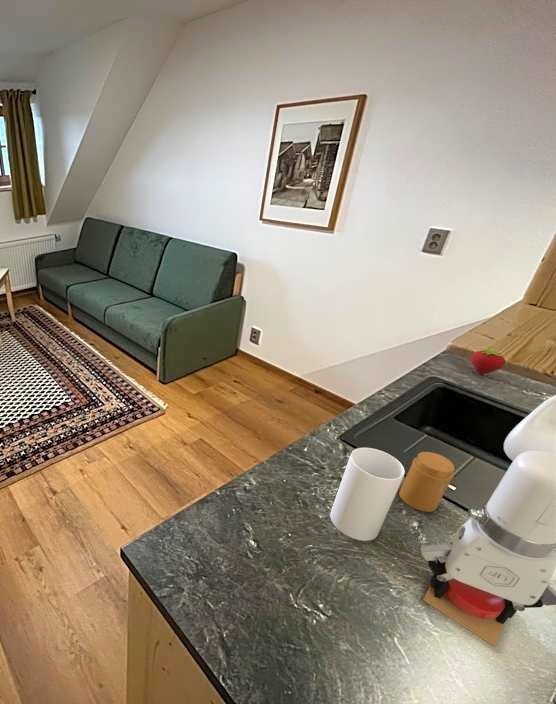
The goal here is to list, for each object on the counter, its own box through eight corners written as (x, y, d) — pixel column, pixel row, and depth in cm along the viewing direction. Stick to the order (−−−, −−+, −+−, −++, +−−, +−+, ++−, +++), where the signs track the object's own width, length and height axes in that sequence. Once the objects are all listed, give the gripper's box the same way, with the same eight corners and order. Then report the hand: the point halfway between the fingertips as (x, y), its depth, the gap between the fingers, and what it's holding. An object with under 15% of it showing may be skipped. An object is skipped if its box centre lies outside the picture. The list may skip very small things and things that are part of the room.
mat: (509, 607, 65) (510, 606, 64) (495, 647, 60) (496, 645, 60) (439, 567, 71) (440, 565, 71) (422, 600, 66) (423, 598, 66)
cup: (331, 500, 85) (350, 442, 77) (377, 515, 81) (403, 456, 73) (328, 529, 79) (350, 469, 71) (379, 547, 75) (407, 486, 67)
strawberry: (495, 383, 119) (510, 353, 114) (462, 373, 124) (475, 345, 119) (498, 375, 122) (513, 346, 117) (466, 366, 127) (479, 338, 122)
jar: (441, 500, 83) (461, 462, 78) (431, 517, 80) (451, 478, 75) (405, 482, 88) (421, 445, 83) (394, 497, 84) (410, 460, 79)
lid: (445, 604, 63) (449, 597, 63) (439, 567, 69) (443, 560, 68) (505, 628, 60) (510, 621, 59) (494, 588, 65) (499, 581, 64)
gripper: (441, 523, 58) (401, 595, 67) (619, 582, 50) (548, 655, 58) (435, 488, 64) (399, 559, 72) (594, 536, 55) (533, 609, 64)
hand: (466, 601), depth 65 cm, fingers closed on lid, 7 cm apart
